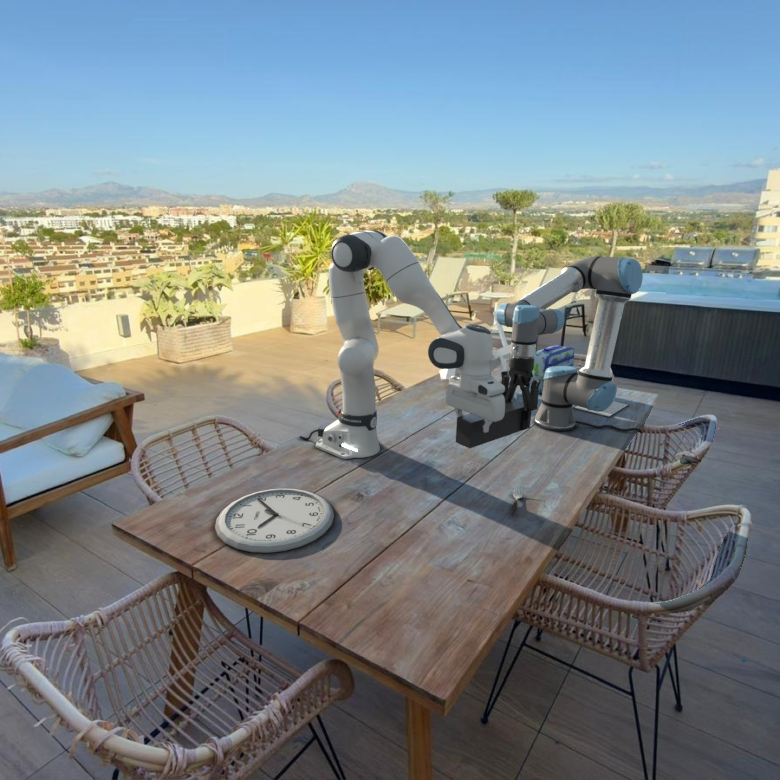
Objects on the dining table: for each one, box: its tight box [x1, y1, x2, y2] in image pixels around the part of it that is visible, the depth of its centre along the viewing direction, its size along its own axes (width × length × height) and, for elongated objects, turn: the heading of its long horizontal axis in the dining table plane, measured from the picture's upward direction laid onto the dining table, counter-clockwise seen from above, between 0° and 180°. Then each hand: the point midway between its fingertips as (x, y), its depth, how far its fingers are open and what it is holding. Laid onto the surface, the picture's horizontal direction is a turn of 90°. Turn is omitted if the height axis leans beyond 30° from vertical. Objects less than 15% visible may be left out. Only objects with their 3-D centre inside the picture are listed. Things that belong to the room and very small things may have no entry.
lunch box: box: [530, 345, 575, 394], centre depth 245 cm, size 26×11×21 cm, turn 134°
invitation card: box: [573, 400, 629, 418], centre depth 226 cm, size 21×1×15 cm
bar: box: [455, 399, 533, 449], centre depth 161 cm, size 28×6×8 cm, turn 128°
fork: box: [511, 484, 525, 517], centre depth 145 cm, size 3×16×2 cm, turn 160°
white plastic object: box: [438, 310, 525, 400], centre depth 245 cm, size 37×45×31 cm
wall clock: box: [214, 488, 335, 554], centre depth 135 cm, size 30×2×30 cm
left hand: (472, 426), depth 154 cm, fingers open, 8 cm apart
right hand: (515, 426), depth 168 cm, fingers closed on bar, 6 cm apart
